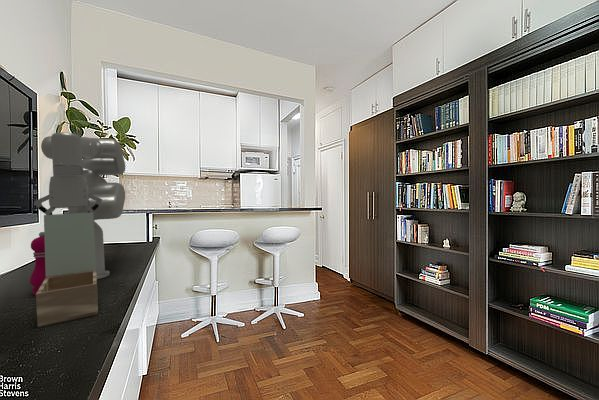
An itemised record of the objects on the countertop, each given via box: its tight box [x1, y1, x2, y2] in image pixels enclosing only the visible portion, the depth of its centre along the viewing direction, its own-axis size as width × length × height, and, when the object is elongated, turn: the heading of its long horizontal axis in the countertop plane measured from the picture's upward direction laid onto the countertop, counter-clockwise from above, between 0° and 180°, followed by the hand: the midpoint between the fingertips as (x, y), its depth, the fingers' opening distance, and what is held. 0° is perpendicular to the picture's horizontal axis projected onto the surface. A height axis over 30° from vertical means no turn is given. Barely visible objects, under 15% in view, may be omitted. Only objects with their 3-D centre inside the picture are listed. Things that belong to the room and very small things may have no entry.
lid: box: [43, 212, 96, 277], centre depth 93 cm, size 18×12×6 cm
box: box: [35, 270, 99, 328], centre depth 82 cm, size 18×12×8 cm, turn 35°
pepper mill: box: [29, 231, 60, 297], centre depth 98 cm, size 7×7×20 cm
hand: (71, 225), depth 96 cm, fingers open, 9 cm apart
